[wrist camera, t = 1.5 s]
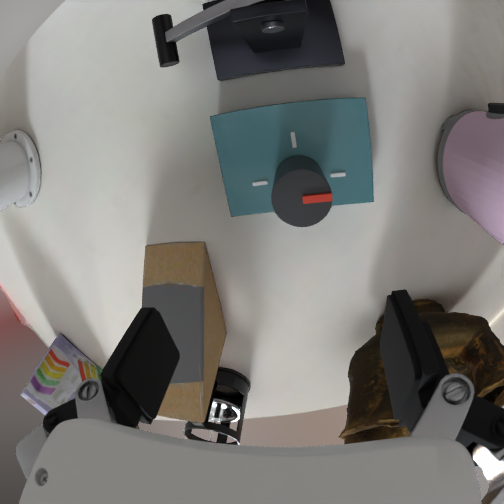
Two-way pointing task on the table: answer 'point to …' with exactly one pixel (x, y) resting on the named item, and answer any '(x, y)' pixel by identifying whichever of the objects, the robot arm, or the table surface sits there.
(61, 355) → the cake pan box
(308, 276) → the table surface
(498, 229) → the blender
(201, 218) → the table surface
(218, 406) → the french press
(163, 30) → the press lever
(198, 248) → the sandwich container
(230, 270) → the table surface
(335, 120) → the teal dial base
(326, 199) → the knob
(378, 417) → the pottery vessel
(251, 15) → the black lever stand
